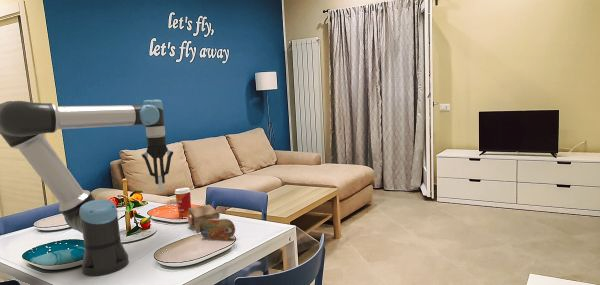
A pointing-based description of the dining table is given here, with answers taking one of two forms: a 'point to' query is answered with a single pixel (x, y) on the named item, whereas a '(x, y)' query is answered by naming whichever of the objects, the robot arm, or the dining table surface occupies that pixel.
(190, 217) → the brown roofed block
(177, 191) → the paper cup
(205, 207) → the hitch block
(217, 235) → the mottled brown rounded block
